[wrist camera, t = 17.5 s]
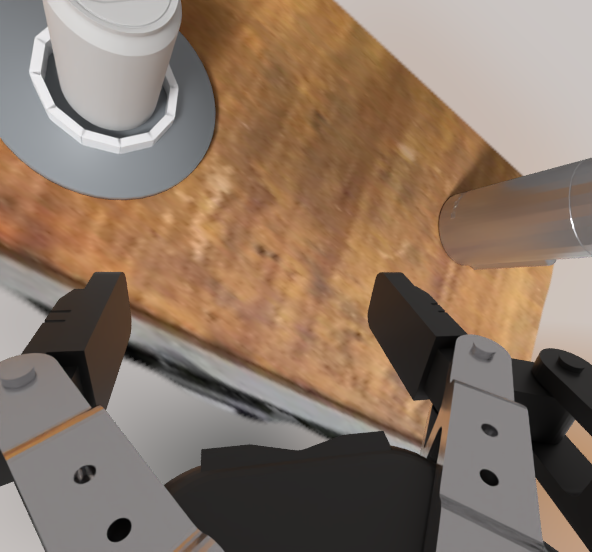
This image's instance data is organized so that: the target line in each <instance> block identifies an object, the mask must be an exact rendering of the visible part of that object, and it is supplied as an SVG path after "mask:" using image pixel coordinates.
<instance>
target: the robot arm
mask: <svg viewBox="0 0 592 552" xmlns="http://www.w3.org/2000/svg"><path fill="white" fill-rule="evenodd" d="M439 233H440V238H441V242H442V245H443V247H444V250H445V251H446V253H447V254H448V256H449V257H450V258H451V259H452V260H453V261H455V262H456V263H458V264H461V265H469V266H471V267H472V268H473V269H474V270H477V269H496V268H514V267H533V266H549V265H552V264H554V263H555V262H556V259H569V258H584V257H592V158H589V159H585V160H582V161H578V162H574V163H571V164H567V165H563V166H560V167H556V168H552V169H548V170H545V171H541V172H538V173H534V174H530V175H526V176H522V177H519V178H515V179H511V180H508V181H504V182H500V183H496V184H493V185H489V186H485V187H481V188H478V189H474V190H470V191H467V192H463V193H459V194H456V195H454V196H452V197H450V198H449V199H448V200H447V201H446V203H445V204H444V206H443V208H442V211H441V214H440V219H439ZM368 323H369V327H370V329H371V331H372V333H373V334H374V336H375V338H376V339H377V341H378V342H379V344H380V346H381V347H382V349H383V351H384V352H385V354H386V356H387V357H388V359H389V361H390V362H391V364H392V366H393V367H394V369H395V371H396V372H397V374H398V376H399V377H400V379H401V381H402V382H403V384H404V386H405V387H406V389H407V391H408V392H409V394H410V396H411V397H412V399H413V401H415V400H427V399H430V401H431V402H432V404H431V407H430V410H429V413H428V417H427V422H426V427H425V432H424V436H423V441H422V446H421V451H420V455H419V454H417V453H415V452H412V451H409V450H406V449H403V448H399V447H395V446H390V444H389V442H388V440H387V438H386V436H385V433H384V431H378V432H368V433H358V434H348V435H341V436H339V437H336V438H333V439H331V440H328V441H325V442H323V443H320V444H317V445H315V446H312V447H309V448H307V449H304V450H299V451H297V450H288V449H281V448H273V447H264V446H258V445H240V446H231V447H221V448H211V449H202V450H201V466H198V467H195V468H193V469H190V470H188V471H186V472H184V473H182V474H180V475H179V476H177V477H175V478H174V479H172V480H170V481H169V482H168V483H166V484H165V485H163V484H162V483H161V481H160V480H159V479H158V477H157V476H156V475H155V474H154V472H153V471H152V470H151V468H150V467H149V466H148V465H147V463H146V462H145V461H144V459H143V458H142V457H141V455H140V454H139V453H138V452H137V450H136V449H135V448H134V446H133V445H132V444H131V442H130V441H129V440H128V439H127V437H126V436H125V435H124V433H123V432H122V431H121V430H120V428H119V427H118V426H117V425H116V423H115V422H114V421H113V419H112V418H111V417H110V415H109V414H108V413H107V411H106V408H107V405H108V402H109V399H110V396H111V393H112V390H113V387H114V384H115V381H116V378H117V375H118V372H119V369H120V365H121V362H122V359H123V356H124V353H125V350H126V347H127V344H128V341H129V338H130V334H131V312H130V304H129V297H128V290H127V283H126V277H125V274H124V273H123V272H95V273H94V274H93V275H92V277H91V279H90V280H89V282H88V284H87V285H86V287H85V289H74V290H72V291H71V292H69V293H68V294H66V295H65V296H63V297H62V298H60V299H59V300H58V302H57V303H56V305H55V306H54V307H53V309H52V310H51V313H49V315H48V316H47V318H46V319H45V323H42V325H41V326H40V328H39V329H38V331H37V332H36V333H35V335H34V336H33V338H32V339H31V341H30V342H29V344H28V345H27V347H26V348H25V349H24V351H23V353H22V354H21V355H18V356H14V357H11V358H8V359H6V360H3V361H1V362H0V486H2V485H5V484H8V483H10V482H13V481H14V484H15V486H16V488H17V490H18V492H19V495H20V497H21V499H22V501H23V504H24V506H25V508H26V510H27V512H28V515H29V517H30V519H31V521H32V524H33V526H34V528H35V530H36V532H37V535H38V537H39V539H40V541H41V544H42V546H43V548H44V550H45V552H558V551H557V550H555V549H554V548H553V547H551V546H550V545H548V544H547V543H546V542H544V541H543V539H542V532H541V523H540V514H539V505H538V496H537V488H536V479H535V477H536V478H537V480H538V481H539V483H540V484H541V485H542V487H543V488H544V489H545V491H546V492H547V494H548V495H549V496H550V498H551V499H552V500H553V502H554V503H555V504H556V506H557V507H558V509H559V510H560V511H561V513H562V514H563V515H564V517H565V518H566V520H567V521H568V522H569V524H570V525H571V526H572V528H573V529H574V531H575V532H576V533H577V534H578V536H579V537H580V539H581V540H582V541H583V543H584V544H585V546H586V547H587V548H588V550H589V551H590V552H592V464H591V463H590V462H589V461H588V460H587V458H586V457H585V456H584V455H583V454H582V453H581V452H580V451H579V450H578V449H577V448H576V446H575V445H574V444H573V443H572V442H571V441H570V440H569V438H568V437H567V436H566V435H565V434H566V432H567V431H568V430H569V428H570V426H571V425H572V424H573V422H574V420H576V421H577V422H578V423H579V424H580V425H581V426H582V427H583V428H584V429H585V430H586V431H587V432H588V433H589V434H590V435H591V436H592V365H591V364H590V363H588V362H587V361H585V360H584V359H582V358H580V357H578V356H576V355H574V354H572V353H569V352H566V351H563V350H559V349H552V348H551V349H550V348H549V349H543V350H542V351H541V352H540V353H539V356H538V357H537V359H536V361H535V362H529V361H524V360H518V359H512V358H511V357H510V355H509V353H508V352H507V351H506V350H505V349H504V348H503V347H502V346H500V345H499V344H497V343H496V342H494V341H492V340H490V339H488V338H485V337H482V336H478V335H468V334H467V333H466V332H465V331H464V330H463V329H462V328H461V327H460V326H459V325H458V324H457V323H456V322H455V321H454V320H453V319H452V318H451V317H450V316H449V315H448V313H445V310H444V309H443V308H442V307H441V306H440V305H438V303H437V302H436V301H435V300H434V299H433V298H432V297H431V296H430V295H429V294H428V293H426V292H425V291H423V290H421V289H420V288H418V287H416V286H414V285H413V284H412V283H411V282H410V281H409V279H408V278H407V277H406V276H405V275H404V274H403V273H400V272H381V273H379V274H378V275H377V277H376V279H375V284H374V288H373V292H372V296H371V301H370V305H369V309H368Z"/></svg>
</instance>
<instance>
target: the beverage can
mask: <svg viewBox="0 0 592 552" xmlns="http://www.w3.org/2000/svg"><path fill="white" fill-rule="evenodd" d="M42 1H43V6H44V10H45V15H46V20H47V25H48V30H49V34H50V39H51V44H52V49H53V54H54V58H55V63H56V68H57V73H58V78H59V82H60V86H61V90H62V92H63V94H64V96H65V98H66V100H67V101H68V103H69V104H70V106H71V107H72V108H73V109H74V110H75V111H76V112H77V113H78V114H79V115H80V116H81V117H83V118H84V119H86V120H87V121H89V122H90V123H92V124H94V125H96V126H99V127H101V128H105V129H109V130H116V131H123V130H130V129H134V128H136V127H139V126H141V125H142V124H144V123H145V122H146V121H147V120H148V119H149V118H150V117H151V116H152V114H153V112H154V110H155V108H156V104H157V101H158V98H159V94H160V91H161V88H162V84H163V81H164V78H165V74H166V71H167V68H168V64H169V61H170V58H171V54H172V51H173V48H174V44H175V41H176V38H177V34H178V31H179V28H180V24H181V18H182V6H181V0H42Z"/></svg>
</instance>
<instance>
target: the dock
mask: <svg viewBox="0 0 592 552" xmlns="http://www.w3.org/2000/svg"><path fill="white" fill-rule="evenodd" d="M214 126H215V101H214V96H213V91H212V87H211V84H210V81H209V78H208V75H207V73H206V70H205V68H204V66H203V64H202V62H201V60H200V59H199V57H198V55H197V53H196V52H195V50H194V49H193V48H192V46H191V45H190V43H189V42H188V41H187V39H186V38H185V37H184V36H183V35H182V34H181V33H180V31H178V34H177V38H176V41H175V44H174V48H173V51H172V54H171V58H170V61H169V64H168V68H167V71H166V74H165V78H164V81H163V84H162V88H161V91H160V94H159V98H158V101H157V104H156V108H155V110H154V112H153V114H152V116H151V117H150V118H149V119H148V120H147V121H146V122H145V123H144V124H142V125H141V126H139V127H136V128H134V129H130V130H123V131H116V130H109V129H105V128H101V127H99V126H96V125H94V124H92V123H90V122H89V121H87V120H86V119H84V118H83V117H81V116H80V115H79V114H78V113H77V112H76V111H75V110H74V109H73V108H72V107H71V106H70V104H69V103H68V101H67V100H66V98H65V96H64V94H63V92H62V90H61V86H60V82H59V78H58V73H57V68H56V63H55V58H54V54H53V49H52V44H51V39H50V34H49V30H48V25H47V20H46V15H45V10H44V6H43V1H42V0H0V138H1V139H2V140H3V142H4V143H5V144H6V146H7V147H8V148H9V149H10V150H11V151H12V152H13V153H14V154H15V155H16V156H17V157H18V158H19V159H20V160H21V161H22V162H24V163H25V164H26V165H27V166H29V167H30V168H31V169H32V170H34V171H35V172H37V173H38V174H40V175H41V176H43V177H44V178H46V179H47V180H49V181H51V182H53V183H55V184H57V185H59V186H61V187H63V188H66V189H68V190H71V191H74V192H77V193H79V194H83V195H87V196H91V197H95V198H102V199H109V200H132V199H141V198H145V197H150V196H154V195H156V194H159V193H162V192H164V191H167V190H168V189H170V188H172V187H174V186H176V185H177V184H179V183H180V182H181V181H183V180H184V179H185V178H187V176H188V175H189V174H190V173H191V172H192V171H193V170H194V169H195V168H196V167H197V165H198V164H199V163H200V161H201V160H202V158H203V157H204V155H205V153H206V151H207V149H208V147H209V145H210V142H211V139H212V136H213V131H214Z"/></svg>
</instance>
